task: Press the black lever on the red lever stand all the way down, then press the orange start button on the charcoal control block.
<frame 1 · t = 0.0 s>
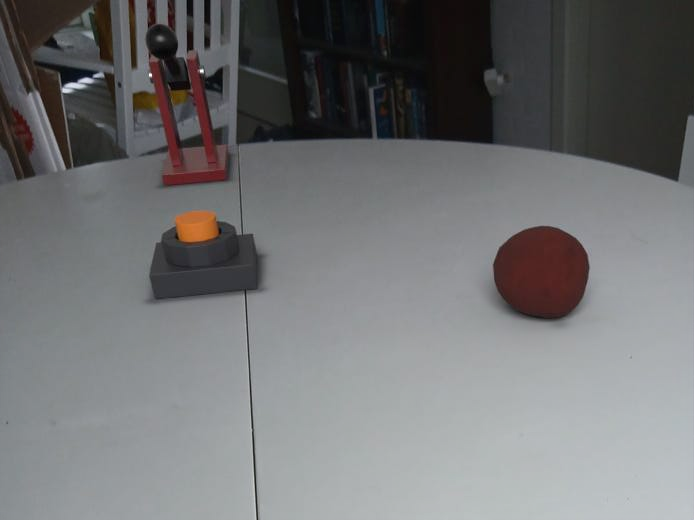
potato: (538, 313, 83), on the table
control block: (208, 277, 91), on the table
red lever stand: (197, 169, 116), on the table
black ball lever: (169, 58, 105), point 12 cm above the table, hinge at 30.0°
start button: (197, 227, 88), point 4 cm above the table, slide at 0.1 cm
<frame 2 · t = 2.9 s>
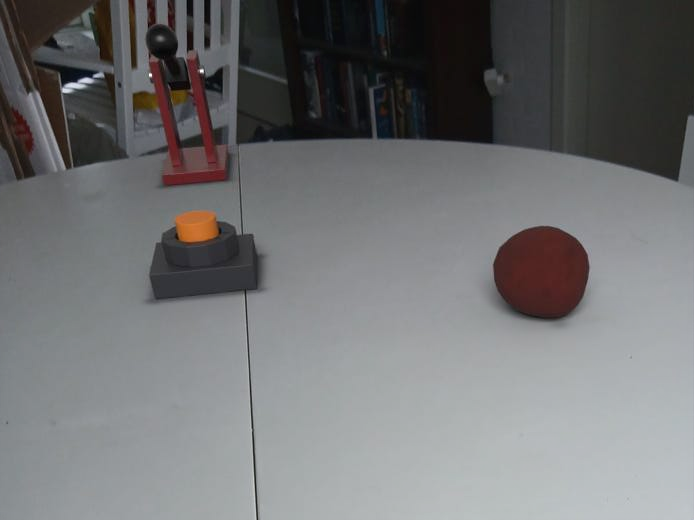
nothing on the table moved.
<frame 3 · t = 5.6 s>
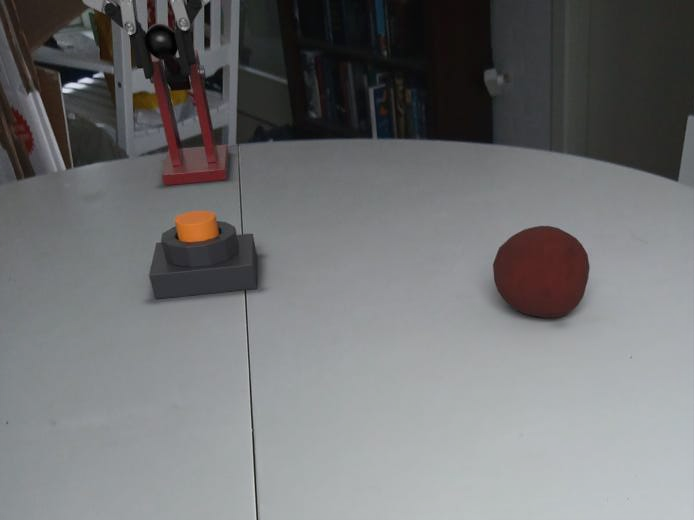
hand: (168, 72, 103), 12 cm above the table, tool pointing down, fingers closed on black ball lever, 3 cm apart
black ball lever: (169, 58, 105), point 12 cm above the table, hinge at 30.0°, touching gripper
everything else where it was.
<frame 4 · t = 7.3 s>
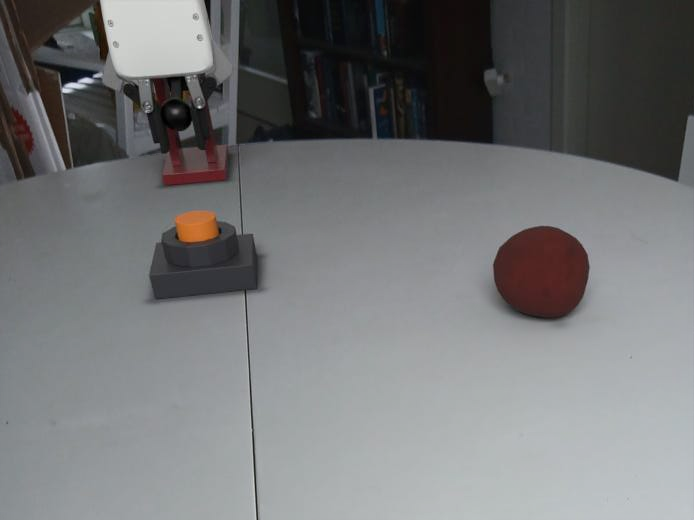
hand: (184, 146, 107), 5 cm above the table, tool pointing down, fingers closed on black ball lever, 3 cm apart
black ball lever: (177, 94, 107), point 9 cm above the table, hinge at -13.0°, touching gripper
everything else where it was.
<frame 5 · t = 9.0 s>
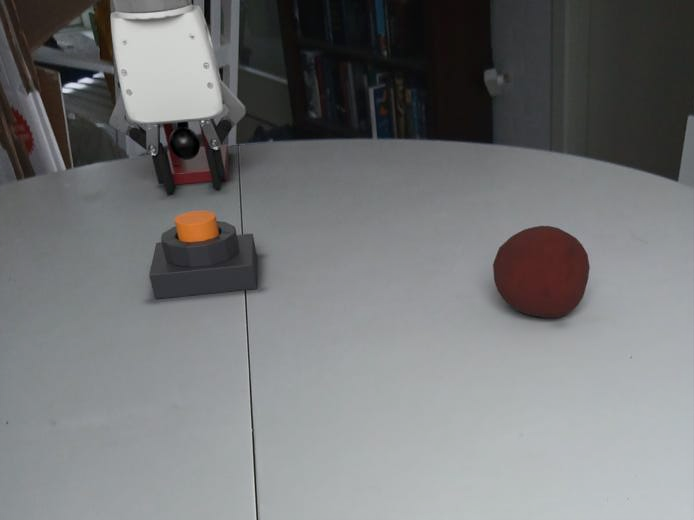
hand: (193, 185, 110), 0 cm above the table, tool pointing down, fingers open, 4 cm apart
black ball lever: (181, 109, 108), point 7 cm above the table, hinge at -35.6°
everything else where it was.
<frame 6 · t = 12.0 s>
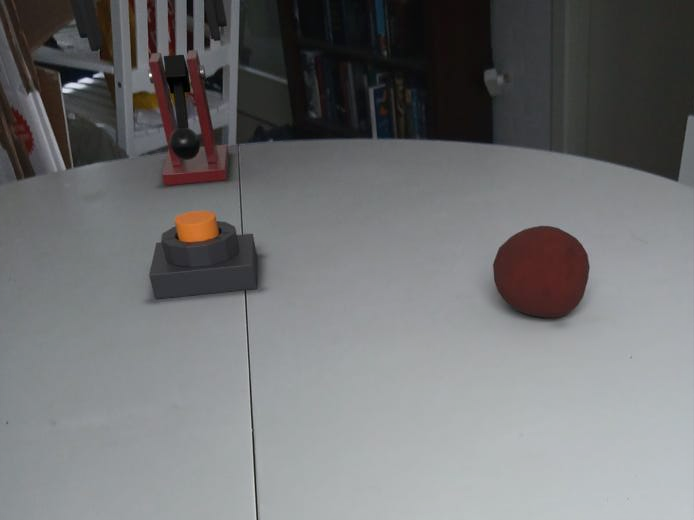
hand: (157, 42, 81), 18 cm above the table, tool pointing down, fingers open, 9 cm apart
nothing on the table moved.
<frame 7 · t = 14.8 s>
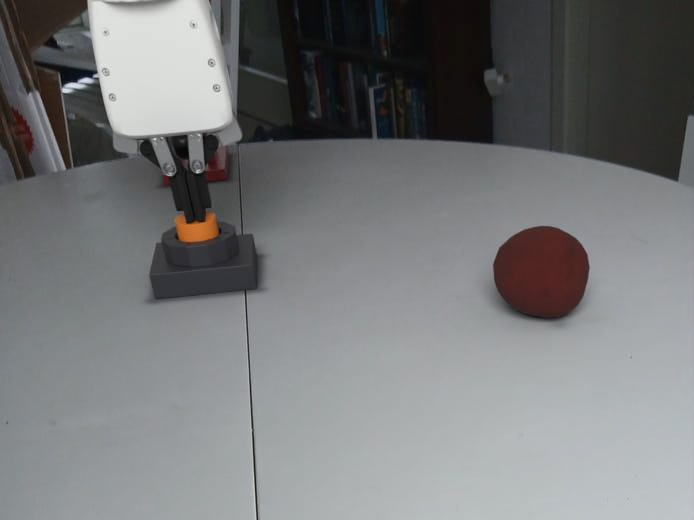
hand: (196, 217, 88), 5 cm above the table, tool pointing down, fingers closed
start button: (197, 227, 88), point 4 cm above the table, slide at 0.1 cm, touching gripper
everything else where it was.
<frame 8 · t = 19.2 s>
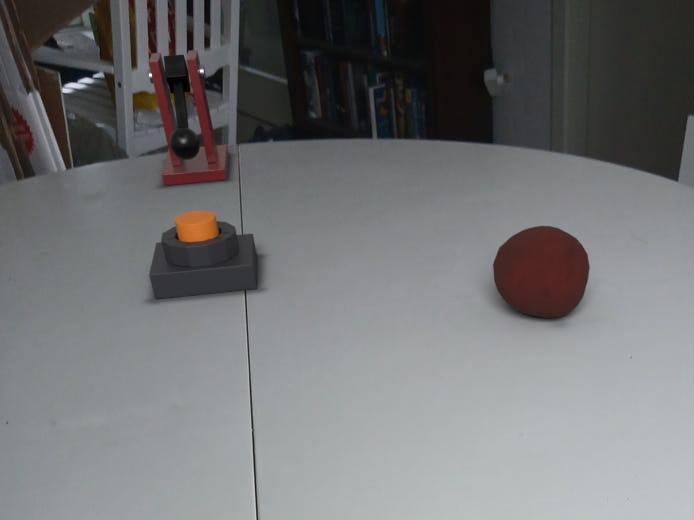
start button: (197, 227, 88), point 4 cm above the table, slide at 0.1 cm
everything else where it was.
at the end: black ball lever at -36° (first picture: +30°); start button pushed in 1.1 cm at the most during the clip, back to where it started at the end; start button slide at 0.1 cm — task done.
